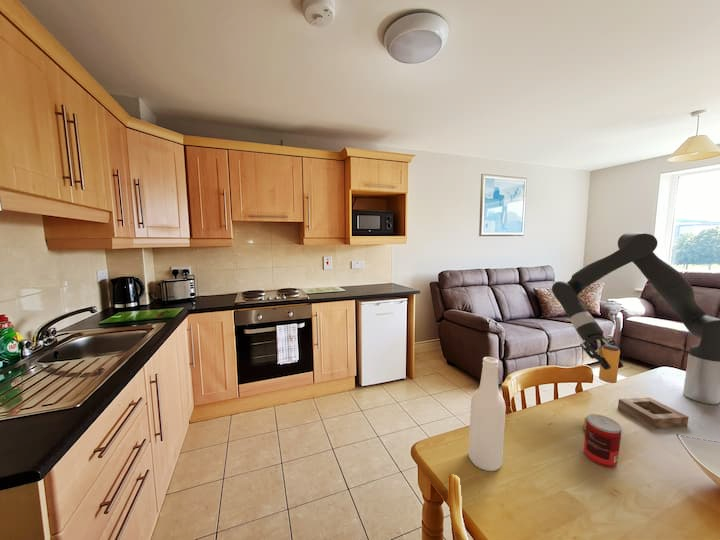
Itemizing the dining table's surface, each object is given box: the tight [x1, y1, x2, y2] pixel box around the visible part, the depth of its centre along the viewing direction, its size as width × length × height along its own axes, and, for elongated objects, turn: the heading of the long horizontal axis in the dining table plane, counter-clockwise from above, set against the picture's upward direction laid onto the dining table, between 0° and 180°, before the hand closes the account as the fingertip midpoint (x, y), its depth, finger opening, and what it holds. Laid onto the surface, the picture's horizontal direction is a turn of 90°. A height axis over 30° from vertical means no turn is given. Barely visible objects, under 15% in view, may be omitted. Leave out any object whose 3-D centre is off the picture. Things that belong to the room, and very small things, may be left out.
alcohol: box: [467, 356, 507, 472], centre depth 81 cm, size 9×9×30 cm
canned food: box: [583, 413, 622, 468], centre depth 83 cm, size 8×8×11 cm
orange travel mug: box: [598, 344, 621, 384], centre depth 106 cm, size 5×5×13 cm
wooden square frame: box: [617, 397, 689, 430], centre depth 103 cm, size 13×12×4 cm
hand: (614, 368), depth 105 cm, fingers closed on orange travel mug, 5 cm apart
